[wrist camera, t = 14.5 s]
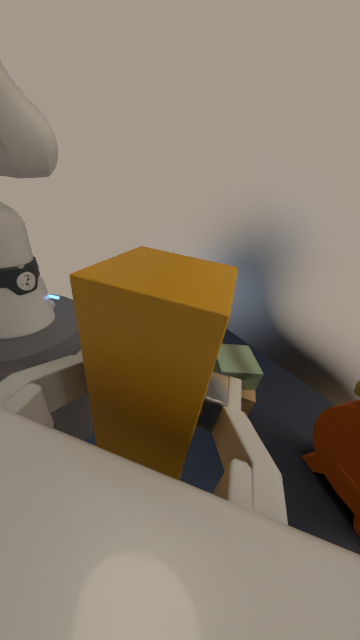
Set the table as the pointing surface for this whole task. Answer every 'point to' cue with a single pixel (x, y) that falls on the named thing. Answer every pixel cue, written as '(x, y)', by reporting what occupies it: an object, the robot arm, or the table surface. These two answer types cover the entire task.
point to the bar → (150, 349)
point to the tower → (240, 371)
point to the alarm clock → (339, 452)
